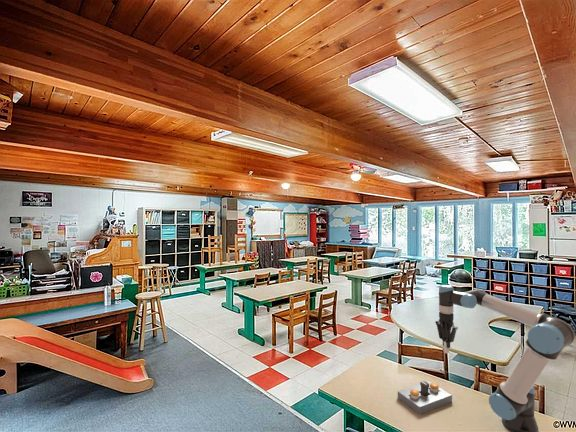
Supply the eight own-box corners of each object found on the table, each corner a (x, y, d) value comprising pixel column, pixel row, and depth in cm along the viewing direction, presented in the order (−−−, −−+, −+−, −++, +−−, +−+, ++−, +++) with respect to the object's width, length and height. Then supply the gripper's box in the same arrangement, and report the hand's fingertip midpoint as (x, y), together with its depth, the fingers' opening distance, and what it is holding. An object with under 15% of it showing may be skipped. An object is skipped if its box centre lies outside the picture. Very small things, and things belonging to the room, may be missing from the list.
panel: (451, 401, 176) (452, 395, 176) (419, 414, 166) (419, 407, 165) (428, 387, 191) (428, 380, 191) (397, 397, 180) (397, 391, 180)
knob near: (420, 404, 174) (421, 392, 174) (414, 406, 172) (415, 395, 172) (414, 399, 178) (414, 388, 178) (408, 401, 176) (408, 390, 176)
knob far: (440, 397, 180) (440, 386, 180) (434, 399, 178) (434, 388, 178) (433, 392, 185) (433, 382, 185) (427, 394, 183) (428, 383, 183)
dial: (430, 395, 177) (431, 384, 177) (425, 398, 175) (425, 386, 175) (424, 391, 181) (424, 380, 181) (418, 393, 179) (418, 382, 179)
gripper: (460, 314, 173) (461, 355, 173) (440, 308, 185) (440, 346, 185) (452, 316, 170) (452, 358, 170) (432, 310, 181) (432, 349, 181)
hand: (446, 352), depth 177 cm, fingers closed
